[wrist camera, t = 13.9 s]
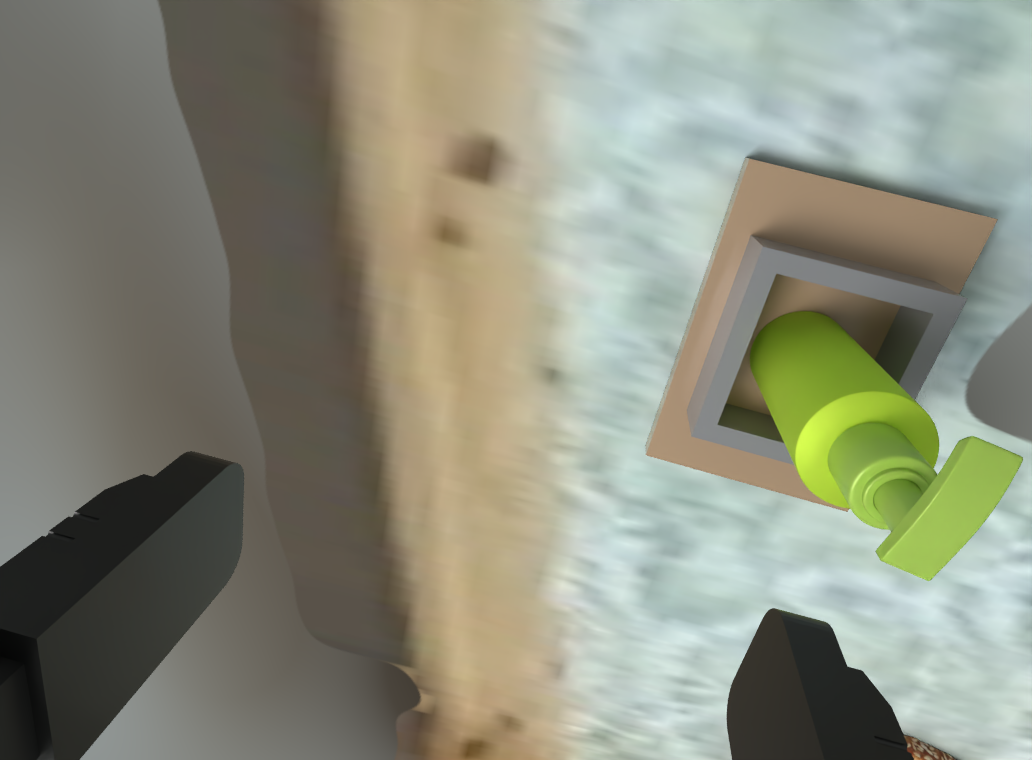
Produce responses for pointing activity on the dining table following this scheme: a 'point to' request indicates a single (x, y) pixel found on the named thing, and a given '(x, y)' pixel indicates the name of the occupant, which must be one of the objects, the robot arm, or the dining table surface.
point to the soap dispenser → (874, 443)
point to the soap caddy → (808, 307)
